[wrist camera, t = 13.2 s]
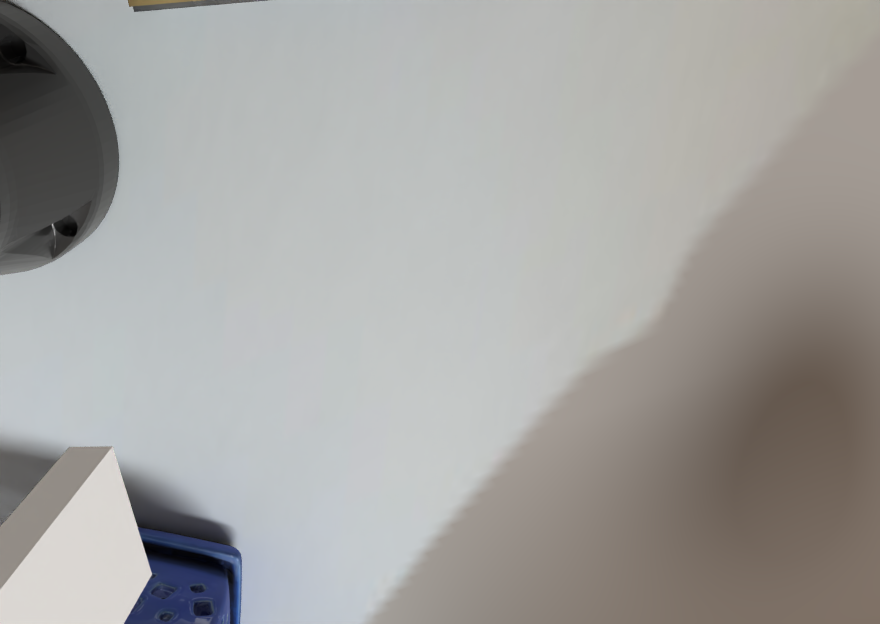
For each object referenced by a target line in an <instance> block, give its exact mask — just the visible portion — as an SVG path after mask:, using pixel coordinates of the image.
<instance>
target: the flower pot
mask: <svg viewBox="0 0 880 624" xmlns="http://www.w3.org/2000/svg"><path fill="white" fill-rule="evenodd" d="M138 530H139V534H140V537H141V540H142V543H143V547H144V550H145V553H146V556H147V559H148V563H149V566H150V569H151V572H152V575H151V577H150V579H149V580H148V582H147V584H146V586H145V587H144V589H143V591H142V593H141V594H140V596H139V598H138V600H137V601H136V603H135V605H134V607H133V608H132V610H131V612H130V614H129V615H128V617H127V619H126V621H125V622H124V624H240V613H241V584H242V559H241V554H240V552H239V551H238V550H237V549H236V548H234V547H232V546H228V545H224V544H220V543H215V542H210V541H206V540H201V539H196V538H191V537H187V536H182V535H177V534H172V533H167V532H162V531H157V530H151V529H146V528H141V527H138Z"/></svg>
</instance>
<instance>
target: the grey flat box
mask: <svg viewBox="0 0 880 624" xmlns="http://www.w3.org/2000/svg"><path fill="white" fill-rule="evenodd" d="M254 1H266V0H128V3H129V7H131V6H133V9H134V12H138V11H150V10H161V9H173V8H185V7H196V6H208V5H219V4H231V3H242V2H254Z"/></svg>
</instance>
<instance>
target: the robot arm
mask: <svg viewBox="0 0 880 624" xmlns="http://www.w3.org/2000/svg"><path fill="white" fill-rule="evenodd" d="M118 172H119V152H118V143H117V136H116V132H115V127H114V124H113V120H112V117H111V114H110V111H109V108H108V106H107V104H106V101H105V99H104V97H103V95H102V93H101V91H100V89H99V87H98V85H97V83H96V82H95V80H94V78H93V77H92V75H91V74H90V72H89V71H88V69H87V68H86V66H85V65H84V64H83V62H82V61H81V60H80V59H79V57H78V56H77V55H76V54H75V53H74V52H73V50H72V49H71V48H70V47H69V46H68V45H67V44H66V43H65V42H64V41H63V40H62V39H61V38H60V37H59V36H58V35H56V34H55V33H54V32H53V31H52V30H51V29H49V28H48V27H47V26H46V25H44V24H43V23H41V22H40V21H39V20H37V19H36V18H34V17H33V16H31V15H29V14H28V13H26V12H24V11H23V10H21V9H19V8H17V7H15V6H13V5H10V4H8V3H6V2H4V1H1V0H0V275H5V274H11V273H18V272H24V271H28V270H32V269H35V268H38V267H41V266H44V265H46V264H48V263H50V262H53V261H55V260H56V259H58V258H60V257H61V256H63V255H64V254H66V253H67V252H69V251H70V250H71V249H73V248H74V247H76V246H77V245H78V244H80V243H81V242H82V241H84V240H85V239H86V238H87V237H88V236H90V235H91V234H92V233H93V232H94V230H95V229H96V228H97V227H98V226H99V224H100V223H101V222H102V220H103V219H104V217H105V215H106V213H107V212H108V210H109V207H110V205H111V203H112V200H113V197H114V194H115V190H116V186H117V180H118ZM151 575H152V572H151V569H150V566H149V563H148V559H147V556H146V553H145V550H144V547H143V543H142V540H141V537H140V534H139V530H138V527H137V524H136V521H135V517H134V514H133V511H132V508H131V504H130V501H129V498H128V495H127V491H126V488H125V485H124V482H123V479H122V475H121V472H120V469H119V466H118V462H117V459H116V456H115V453H114V449H113V446H112V447H69V448H68V449H67V450H66V451H65V453H64V454H63V455H62V456H61V457H60V458H59V460H58V461H57V462H56V463H55V464H54V465H53V466H52V468H51V469H50V470H49V471H48V472H47V473H46V475H45V476H44V477H43V478H42V479H41V480H40V482H39V483H38V484H37V485H36V486H35V487H34V488H33V490H32V491H31V492H30V493H29V494H28V495H27V497H26V498H25V499H24V500H23V501H22V502H21V503H20V505H19V506H18V507H17V508H16V509H15V510H14V512H13V513H12V514H11V515H10V516H9V517H8V518H7V520H6V521H5V522H4V523H3V524H2V525H1V527H0V624H124V622H125V621H126V619H127V617H128V615H129V614H130V612H131V610H132V608H133V607H134V605H135V603H136V601H137V600H138V598H139V596H140V594H141V593H142V591H143V589H144V587H145V586H146V584H147V582H148V580H149V579H150V577H151Z"/></svg>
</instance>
